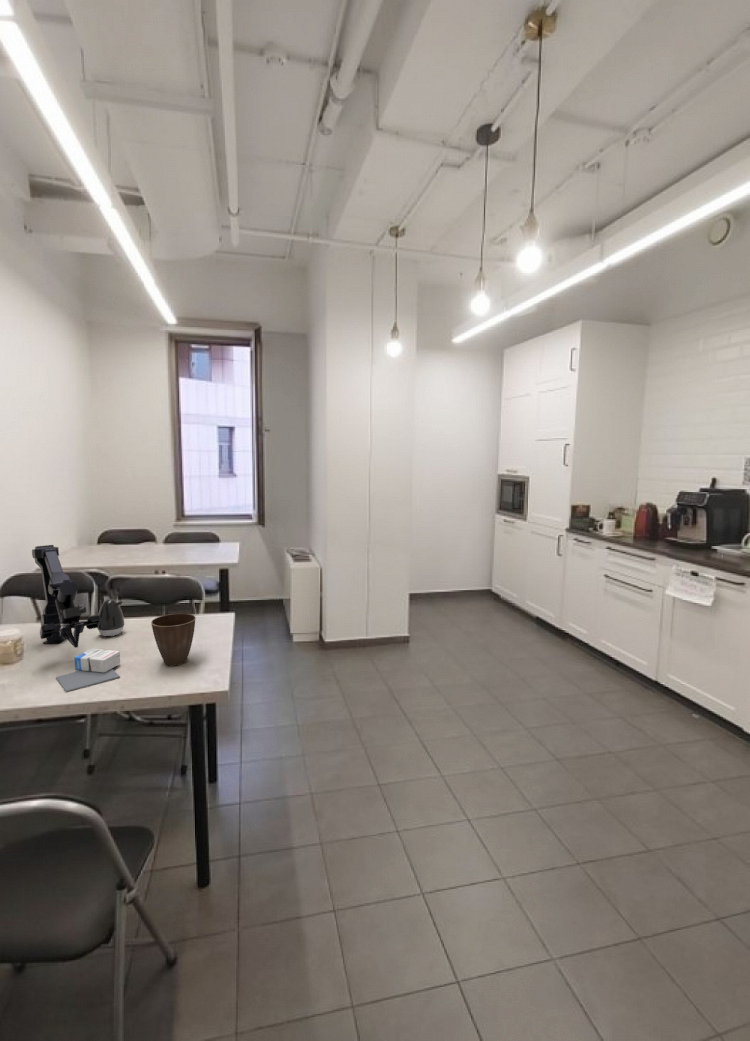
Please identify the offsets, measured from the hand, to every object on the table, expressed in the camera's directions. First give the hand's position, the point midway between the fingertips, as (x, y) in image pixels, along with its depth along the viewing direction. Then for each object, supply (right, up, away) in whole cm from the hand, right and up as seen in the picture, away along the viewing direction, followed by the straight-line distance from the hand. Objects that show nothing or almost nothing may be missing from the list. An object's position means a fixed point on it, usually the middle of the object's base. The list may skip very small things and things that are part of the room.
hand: (76, 646), depth 182 cm
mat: (+9, -8, -9) cm, 15 cm away
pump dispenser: (-4, -3, +33) cm, 33 cm away
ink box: (+2, -4, 0) cm, 5 cm away
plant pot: (+33, -7, +5) cm, 34 cm away
